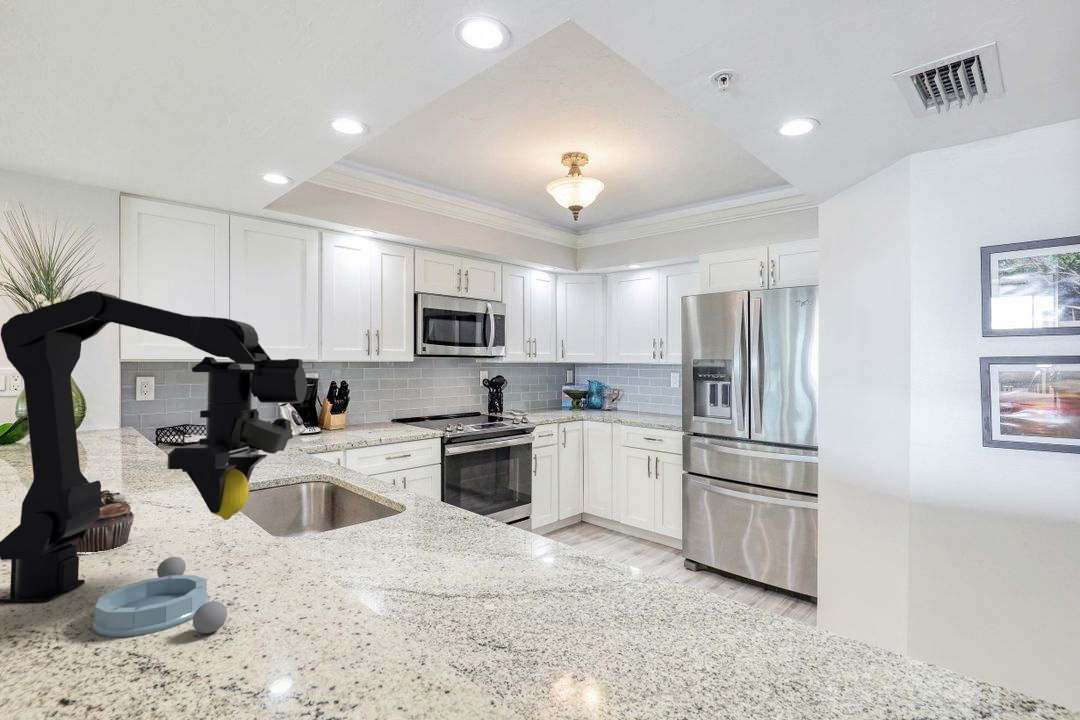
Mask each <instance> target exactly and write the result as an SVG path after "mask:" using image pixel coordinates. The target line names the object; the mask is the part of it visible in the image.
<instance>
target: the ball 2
mask: <svg viewBox="0 0 1080 720" xmlns="http://www.w3.org/2000/svg"><path fill="white" fill-rule="evenodd" d="M227 617H228V611H227V608H226V605H224V603H222V602H220V601H217V600H216V601H215V600H213V601H212V600H211V601H209V602H207V603H205V604H203V605H202V606H200V607H199V608H198V609H197V611H196V612H195V614H194V617H193V619H192V625H193V627H194V629H195V630H196V631H197V632H198V633H201V634H212V633H214V632H215V631H218V630H219V629H220V628H222V627H223V626H224V624H225V622H226V621H227Z"/></svg>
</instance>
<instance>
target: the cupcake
mask: <svg viewBox="0 0 1080 720" xmlns="http://www.w3.org/2000/svg"><path fill="white" fill-rule="evenodd" d="M101 499H102V502H103V503H104V505H105V506H104V507H102V508H100V515H99V518H98V520H96V521H95V523H94V524H93V525H92V526H91V527H89V529H88V532H87V534H86V536H85V538H84V539H83V540H79V541H76V542H74V543H72V545H77V552H85V553H86V552H98V551H105V550H106V551H107V550H110V549H114V548H117V547H120V546H122V545H124V544H126V543H127V544H128V542H129V538H130V534H131V528H132V525H133V523H134V519H135V515H134V513H133V512H132V511H131V509H132V507H131V505H130V504H129V503H128V502H127V501H126V495H125V493H120V492H113V493H112V492H111V491H110V490H108V489H106V490H101ZM127 544H126V545H127Z"/></svg>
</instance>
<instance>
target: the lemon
mask: <svg viewBox="0 0 1080 720" xmlns="http://www.w3.org/2000/svg"><path fill="white" fill-rule="evenodd" d="M249 489H250V487H249V482H247V479H246V477H245V475H244V474H243V473H242V472H241V471H239V470H237V469H232V470H231V471H230V472H229V473H228V474H227V475H226V478H225V485H224V491H223V498H222V504H221V509H220V512H218V513H212V514H214V515H215V516H218V517H221V518H222V519H223V520H224V521H228V520H230V519H231V518H232V517H233V516H234V515H236V514H238V513H239V512H240V511H242V509H243V508H244V507H245V505H246V504H247V501H248V497H249V491H250V490H249Z"/></svg>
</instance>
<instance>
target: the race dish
mask: <svg viewBox="0 0 1080 720" xmlns="http://www.w3.org/2000/svg"><path fill="white" fill-rule="evenodd" d="M207 584H208V579H207V578H205V577H202V576H198V575H195V574H183V575H171V576H165V577H153V578H148V579H142V580H140V581H137V582H132V583H129V584H126V585H122V586H120V587H117V588H115V589H114V590H111V591H110V592H108V593H106V594H104V595H102V596H100V597H99V599H98V600H97V602H96V604H95V605H94V618H93V620H92V630H93V632H94V633H95V634H96V635H98V636H101V637H106V638H130V637H136V636H144V635H149V634H152V633H157V632H160V631H165V630H168V629H170V628H174V627H176V626H180V625H182V624H184V623H186V622H188V621H191V620H193V617H194V614H195V612H196V611H197V609H198V608H199V607H200V606H202V605H203V604H205V603H207V602H210V597H209V594H208V593H207V586H208V585H207Z"/></svg>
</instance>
